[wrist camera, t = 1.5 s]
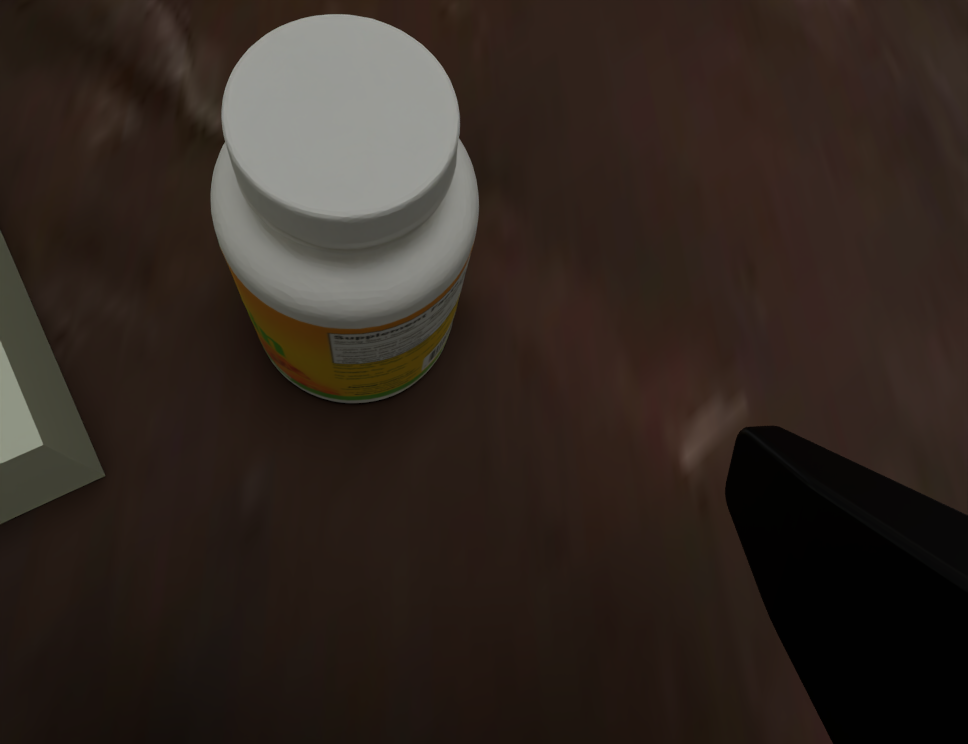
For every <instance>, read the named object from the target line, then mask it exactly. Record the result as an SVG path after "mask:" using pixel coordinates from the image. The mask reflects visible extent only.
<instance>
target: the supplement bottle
mask: <svg viewBox="0 0 968 744" xmlns="http://www.w3.org/2000/svg"><path fill="white" fill-rule="evenodd" d="M222 127H223V134H224V139H225V143H224V145H223V147H222V149H221V151H220V154H219V156H218V159H217V162H216V165H215V168H214V172H213V177H212V184H211V213H212V219H213V224H214V228H215V232H216V235H217V239H218V242H219V245H220V249H221V251H222V253H223V255H224V257H225V260H226V262H227V264H228V267H229V269H230V271H231V274H232V276H233V278H234V281H235V283H236V286H237V288H238V291H239V293H240V296H241V299H242V301H243V303H244V305H245V307H246V309H247V311H248V314H249V316H250V318H251V321H252V323H253V325H254V327H255V330H256V332H257V335H258V337H259V339H260V342H261V344H262V346H263V348H264V350H265V352H266V353H267V355H268V357H269V358H270V360H271V361H272V363H273V364H274V365H275V367H276V368H277V369H278V370H279V371H280V372H281V373H282V374H283V375H284V376H285V377H286V378H287V379H288V380H289V381H291V382H292V383H293V384H295V385H296V386H297V387H299V388H300V389H302V390H304V391H306V392H308V393H310V394H312V395H314V396H317V397H319V398H323V399H326V400H330V401H335V402H341V403H365V402H372V401H377V400H381V399H385V398H388V397H391V396H393V395H396V394H398V393H400V392H402V391H404V390H405V389H407V388H409V387H410V386H412V385H413V384H414V383H416V382H417V381H418V380H419V379H420V378H422V377H423V376H424V375H425V374H426V373H427V372H428V371H429V370H430V368H431V367H432V366H433V364H434V363H435V362H436V360H437V359H438V357H439V356H440V354H441V352H442V350H443V348H444V346H445V344H446V341H447V338H448V336H449V333H450V330H451V327H452V323H453V319H454V316H455V312H456V308H457V304H458V300H459V296H460V292H461V289H462V285H463V281H464V277H465V273H466V270H467V266H468V262H469V259H470V255H471V251H472V248H473V245H474V240H475V235H476V229H477V223H478V214H479V198H478V188H477V181H476V177H475V173H474V169H473V166H472V163H471V161H470V158H469V156H468V154H467V152H466V150H465V148H464V146H463V144H462V142H461V141H460V139H459V133H460V114H459V108H458V103H457V98H456V94H455V92H454V89H453V87H452V84H451V81H450V79H449V77H448V76H447V74H446V72H445V71H444V69H443V67H442V66H441V65H440V63H439V62H438V60H437V59H436V58H435V57H434V56H433V55H432V54H431V53H430V52H429V51H428V50H427V49H426V48H425V47H424V46H423V45H422V44H421V43H419V42H418V41H416V40H415V39H414V38H412V37H411V36H409V35H408V34H406V33H404V32H403V31H401V30H399V29H397V28H395V27H393V26H391V25H388V24H386V23H383V22H380V21H377V20H374V19H371V18H365V17H359V16H354V15H341V14H332V15H319V16H311V17H307V18H302V19H299V20H296V21H293V22H290V23H287V24H285V25H283V26H280V27H278V28H276V29H275V30H273V31H271V32H269V33H268V34H266V35H265V36H263V37H262V38H261V39H260V40H258V41H257V42H256V43H255V44H254V45H252V46H251V47H250V48H249V49H248V50H247V51H246V53H245V54H244V55H243V56H242V57H241V59H240V60H239V62H238V63H237V65H236V66H235V68H234V69H233V71H232V73H231V75H230V77H229V80H228V83H227V86H226V89H225V92H224V96H223V102H222Z"/></svg>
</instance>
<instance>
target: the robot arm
mask: <svg viewBox="0 0 968 744" xmlns="http://www.w3.org/2000/svg"><path fill="white" fill-rule="evenodd" d="M725 496H726V502H727V506H728V509H729V512H730V514H731V517H732V520H733V522H734V525H735V528H736V530H737V533H738V536H739V539H740V541H741V544H742V547H743V549H744V552H745V555H746V557H747V560H748V563H749V565H750V568H751V571H752V573H753V576H754V579H755V581H756V584H757V587H758V589H759V592H760V595H761V597H762V600H763V602H764V605H765V607H766V610H767V612H768V614H769V617H770V619H771V621H772V623H773V625H774V627H775V630H776V632H777V634H778V636H779V638H780V640H781V642H782V644H783V646H784V648H785V650H786V652H787V654H788V656H789V658H790V660H791V662H792V663H793V665H794V667H795V669H796V671H797V673H798V675H799V677H800V679H801V681H802V683H803V685H804V687H805V689H806V691H807V693H808V695H809V697H810V699H811V701H812V703H813V705H814V707H815V709H816V711H817V713H818V715H819V717H820V719H821V721H822V723H823V725H824V727H825V729H826V731H827V733H828V735H829V737H830V738H831V740H832V742H833V744H968V515H966V514H964V513H962V512H959V511H957V510H955V509H953V508H951V507H949V506H947V505H945V504H942V503H940V502H938V501H936V500H934V499H932V498H930V497H928V496H925V495H923V494H921V493H919V492H917V491H915V490H913V489H911V488H908V487H906V486H904V485H902V484H900V483H898V482H896V481H894V480H891V479H889V478H887V477H885V476H883V475H881V474H879V473H876V472H874V471H872V470H870V469H868V468H866V467H864V466H862V465H859V464H857V463H855V462H853V461H851V460H849V459H847V458H845V457H842V456H840V455H838V454H836V453H834V452H832V451H830V450H828V449H825V448H823V447H821V446H819V445H817V444H815V443H813V442H811V441H808V440H806V439H804V438H802V437H800V436H798V435H796V434H794V433H791V432H789V431H787V430H785V429H783V428H781V427H778V426H756V427H745V428H744V429H742V430H741V431H740V432H739V434H738V435H737V438H736V441H735V446H734V450H733V454H732V459H731V463H730V468H729V472H728V476H727V481H726V487H725Z"/></svg>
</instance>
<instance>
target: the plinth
mask: <svg viewBox="0 0 968 744" xmlns="http://www.w3.org/2000/svg"><path fill="white" fill-rule="evenodd" d="M104 476H105V474H104V472H103V469H102V467H101V465H100V462H99V460H98V457H97V455H96V453H95V450H94V448H93V446H92V443H91V441H90V439H89V436H88V434H87V432H86V429H85V427H84V425H83V422H82V420H81V418H80V415H79V413H78V411H77V408H76V406H75V404H74V401H73V399H72V397H71V394H70V392H69V390H68V387H67V385H66V383H65V380H64V378H63V376H62V373H61V371H60V369H59V366H58V364H57V361H56V359H55V357H54V354H53V352H52V350H51V347H50V345H49V343H48V340H47V338H46V336H45V333H44V331H43V329H42V326H41V324H40V322H39V319H38V317H37V315H36V312H35V310H34V308H33V305H32V303H31V301H30V298H29V296H28V294H27V291H26V289H25V287H24V284H23V282H22V280H21V277H20V275H19V273H18V270H17V268H16V265H15V263H14V261H13V258H12V256H11V254H10V251H9V249H8V247H7V244H6V242H5V240H4V237H3V235H2V233H1V230H0V524H2V523H4V522H6V521H8V520H10V519H12V518H15V517H17V516H19V515H21V514H23V513H25V512H28V511H30V510H32V509H34V508H36V507H39V506H41V505H43V504H45V503H47V502H49V501H52V500H54V499H56V498H58V497H60V496H63V495H65V494H67V493H69V492H71V491H73V490H76V489H78V488H80V487H82V486H84V485H87V484H89V483H91V482H93V481H95V480H97V479H100V478H102V477H104Z"/></svg>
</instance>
